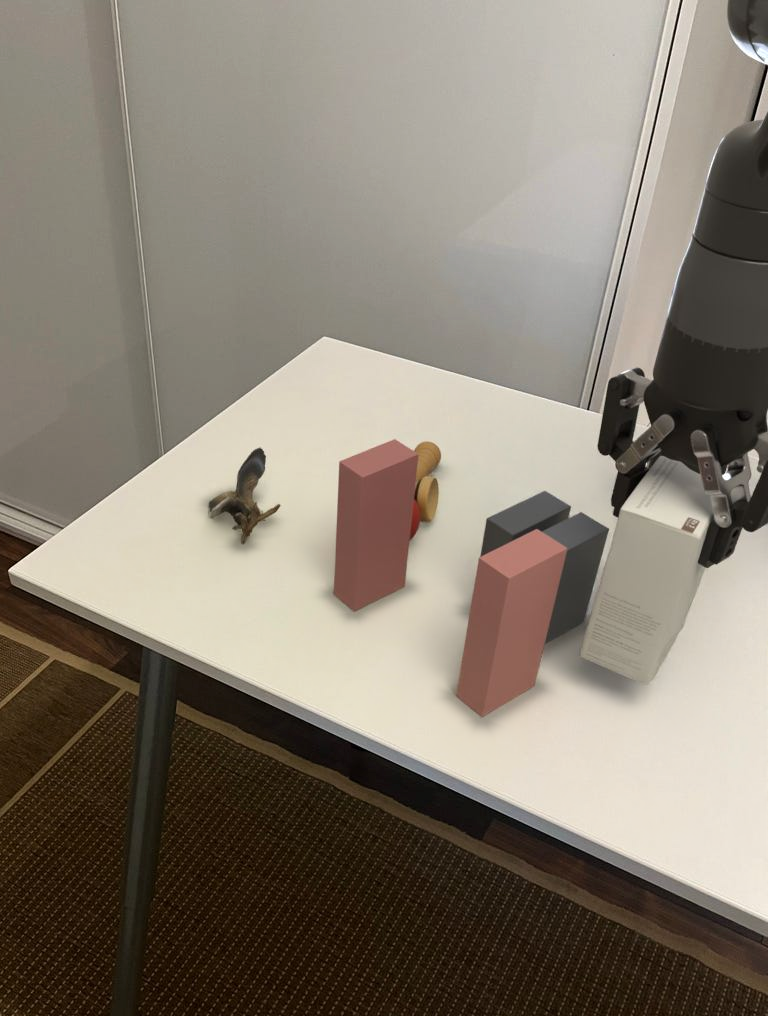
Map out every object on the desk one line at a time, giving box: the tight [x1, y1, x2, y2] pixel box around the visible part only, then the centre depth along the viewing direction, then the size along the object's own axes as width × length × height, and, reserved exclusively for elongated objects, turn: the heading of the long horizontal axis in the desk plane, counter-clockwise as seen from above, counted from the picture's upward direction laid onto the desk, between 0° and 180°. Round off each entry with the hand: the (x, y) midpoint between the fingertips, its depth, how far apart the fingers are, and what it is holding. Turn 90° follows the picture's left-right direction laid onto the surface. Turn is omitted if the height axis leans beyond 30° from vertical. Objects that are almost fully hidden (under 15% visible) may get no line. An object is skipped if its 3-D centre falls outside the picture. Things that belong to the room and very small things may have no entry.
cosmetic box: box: [579, 456, 715, 686], centre depth 73 cm, size 8×6×15 cm
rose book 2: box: [455, 529, 567, 718], centre depth 74 cm, size 6×3×14 cm, turn 126°
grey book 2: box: [542, 511, 610, 645], centre depth 81 cm, size 7×3×10 cm, turn 126°
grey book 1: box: [479, 490, 572, 557], centre depth 84 cm, size 7×3×10 cm, turn 126°
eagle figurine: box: [208, 446, 281, 545], centre depth 95 cm, size 8×7×9 cm
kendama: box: [410, 441, 442, 541], centre depth 97 cm, size 8×6×18 cm
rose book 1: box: [333, 438, 419, 612], centre depth 84 cm, size 6×3×14 cm, turn 126°
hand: (665, 536), depth 70 cm, fingers closed on cosmetic box, 7 cm apart
